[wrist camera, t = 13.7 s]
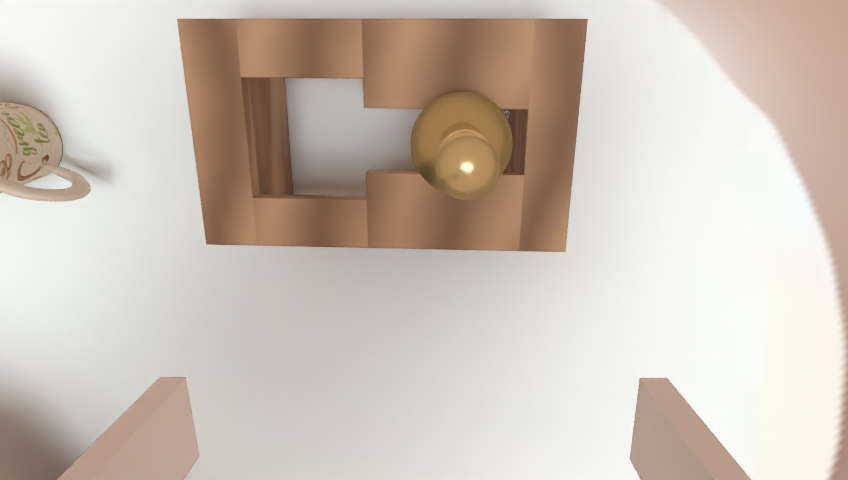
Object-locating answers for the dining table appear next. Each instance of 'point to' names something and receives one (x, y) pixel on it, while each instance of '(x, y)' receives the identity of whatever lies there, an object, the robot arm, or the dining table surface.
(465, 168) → the pin
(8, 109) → the mug
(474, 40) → the keyhole shelf
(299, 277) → the dining table surface
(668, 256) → the dining table surface
